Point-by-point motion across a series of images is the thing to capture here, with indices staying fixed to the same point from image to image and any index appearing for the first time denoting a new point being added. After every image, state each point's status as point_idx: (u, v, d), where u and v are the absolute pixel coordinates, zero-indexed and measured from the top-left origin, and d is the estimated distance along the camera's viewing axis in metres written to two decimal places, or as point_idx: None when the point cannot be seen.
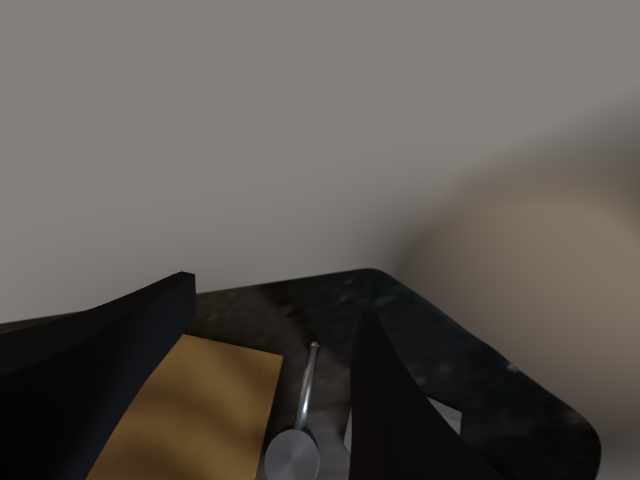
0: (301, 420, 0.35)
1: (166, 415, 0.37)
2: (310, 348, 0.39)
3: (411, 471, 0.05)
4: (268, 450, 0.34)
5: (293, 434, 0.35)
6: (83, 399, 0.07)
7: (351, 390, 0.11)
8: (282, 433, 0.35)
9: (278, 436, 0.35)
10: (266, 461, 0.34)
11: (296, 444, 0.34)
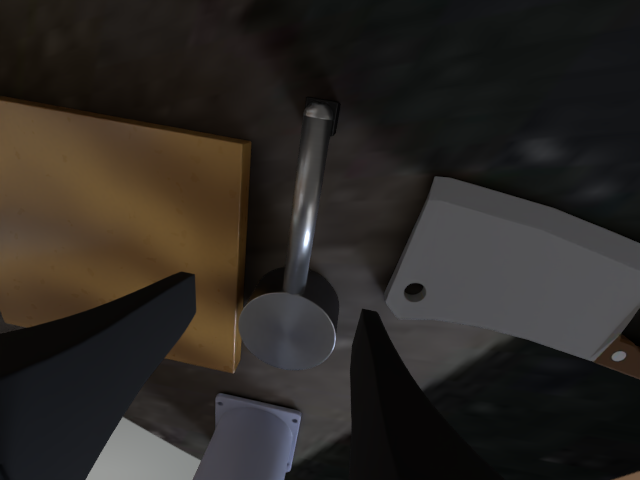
0: (296, 280, 0.17)
1: (62, 254, 0.20)
2: (305, 125, 0.13)
3: (411, 471, 0.05)
4: (241, 318, 0.18)
5: (283, 299, 0.17)
6: (83, 399, 0.07)
7: (351, 390, 0.11)
8: (262, 297, 0.18)
9: (255, 301, 0.18)
10: (241, 331, 0.19)
11: (292, 314, 0.18)
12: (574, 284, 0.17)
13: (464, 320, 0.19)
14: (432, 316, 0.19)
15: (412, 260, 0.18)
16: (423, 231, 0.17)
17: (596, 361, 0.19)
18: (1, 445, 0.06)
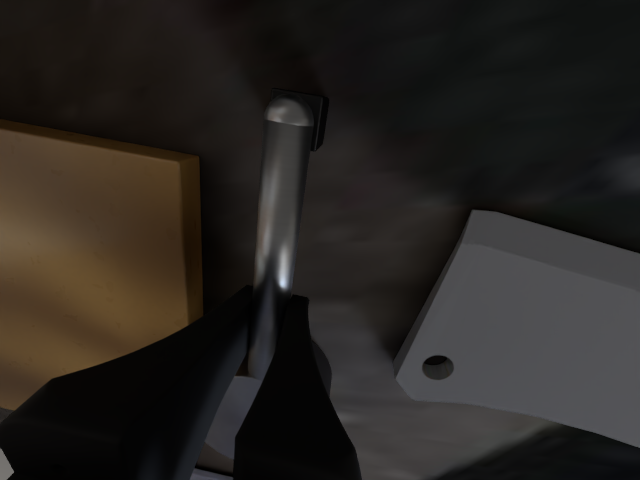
0: (266, 362, 0.11)
1: None
2: (266, 135, 0.08)
3: (253, 434, 0.05)
4: None
5: (248, 386, 0.12)
6: (187, 423, 0.07)
7: None
8: None
9: None
10: None
11: None
12: None
13: (506, 405, 0.13)
14: (461, 399, 0.14)
15: (435, 325, 0.13)
16: (452, 287, 0.12)
17: None
18: (139, 479, 0.05)
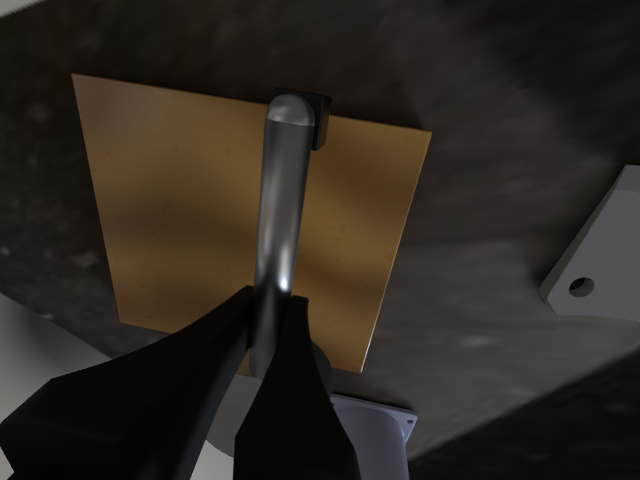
0: (266, 361, 0.11)
1: (201, 251, 0.20)
2: (267, 134, 0.08)
3: (253, 434, 0.05)
4: None
5: (248, 385, 0.12)
6: (187, 423, 0.07)
7: None
8: None
9: None
10: None
11: None
12: None
13: (631, 316, 0.18)
14: (596, 312, 0.18)
15: (585, 253, 0.17)
16: (603, 223, 0.17)
17: None
18: (139, 479, 0.05)
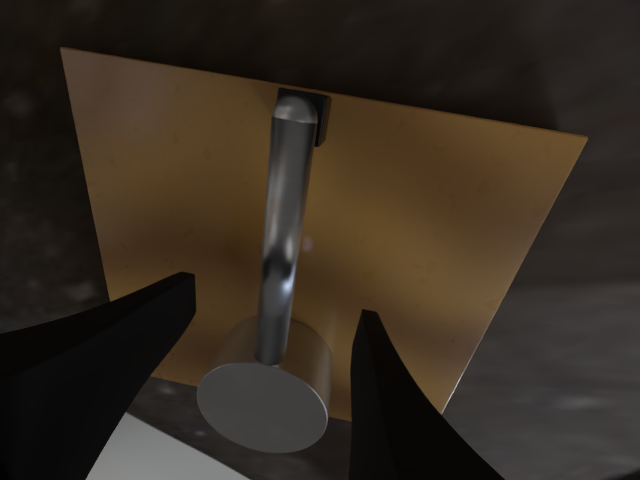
0: (271, 347, 0.12)
1: (233, 290, 0.15)
2: (274, 131, 0.09)
3: (411, 471, 0.05)
4: (200, 391, 0.14)
5: (254, 371, 0.13)
6: (83, 399, 0.07)
7: (351, 390, 0.11)
8: (225, 367, 0.13)
9: (216, 371, 0.13)
10: (201, 406, 0.14)
11: (267, 389, 0.13)
12: None
13: None
14: None
15: None
16: None
17: None
18: (1, 445, 0.06)
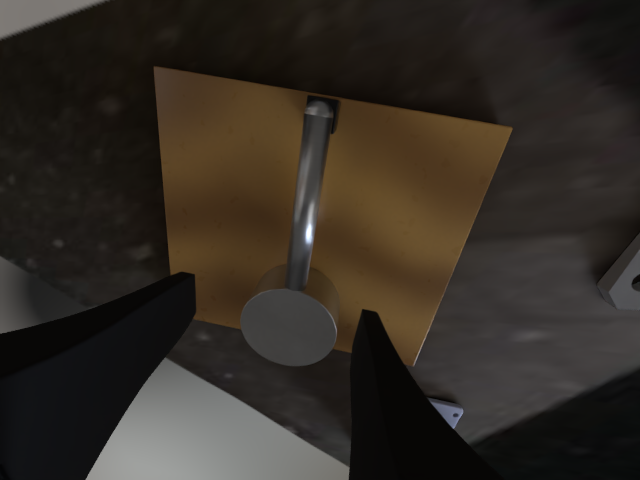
0: (298, 276, 0.17)
1: (265, 244, 0.20)
2: (306, 123, 0.14)
3: (411, 471, 0.05)
4: (243, 314, 0.19)
5: (284, 296, 0.18)
6: (83, 399, 0.07)
7: (351, 390, 0.11)
8: (263, 294, 0.18)
9: (257, 297, 0.18)
10: (243, 327, 0.19)
11: (293, 310, 0.18)
12: None
13: None
14: None
15: None
16: None
17: None
18: (1, 445, 0.06)
